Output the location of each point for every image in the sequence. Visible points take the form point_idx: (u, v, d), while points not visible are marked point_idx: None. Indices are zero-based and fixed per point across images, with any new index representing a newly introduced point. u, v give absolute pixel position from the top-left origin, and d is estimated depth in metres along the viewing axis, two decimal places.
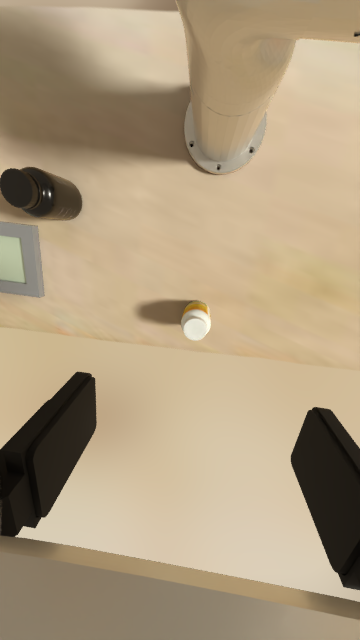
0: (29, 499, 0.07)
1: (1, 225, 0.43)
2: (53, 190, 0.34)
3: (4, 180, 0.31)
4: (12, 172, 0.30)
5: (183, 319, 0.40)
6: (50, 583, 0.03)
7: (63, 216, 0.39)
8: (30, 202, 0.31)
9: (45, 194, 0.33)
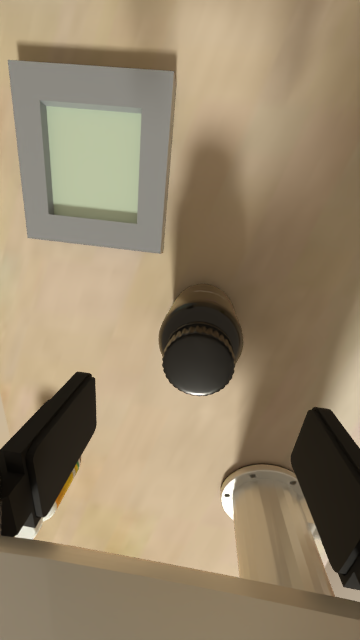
0: (29, 499, 0.07)
1: (158, 183, 0.21)
2: None
3: (213, 347, 0.14)
4: (227, 368, 0.14)
5: None
6: (50, 583, 0.03)
7: None
8: (172, 382, 0.15)
9: None
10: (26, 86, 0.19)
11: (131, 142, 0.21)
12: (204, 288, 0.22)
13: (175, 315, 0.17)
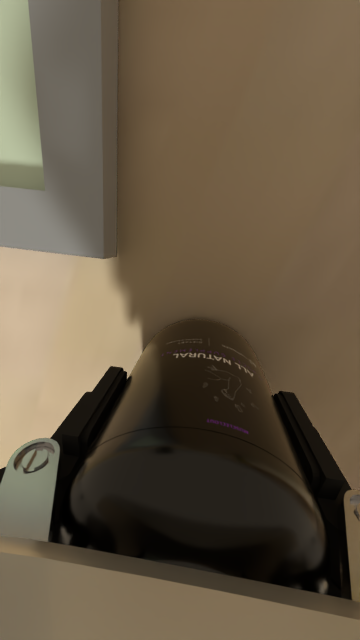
0: None
1: (84, 82, 0.08)
2: None
3: None
4: None
5: None
6: (50, 583, 0.03)
7: None
8: None
9: None
10: None
11: None
12: (201, 340, 0.09)
13: (91, 497, 0.05)
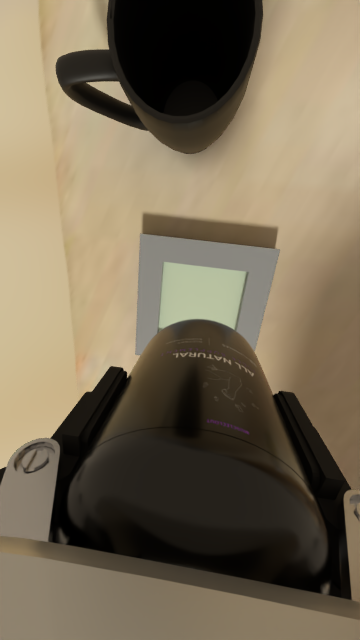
0: None
1: (255, 322, 0.25)
2: None
3: None
4: None
5: None
6: (50, 583, 0.03)
7: None
8: None
9: None
10: (153, 252, 0.23)
11: (233, 289, 0.25)
12: (201, 340, 0.09)
13: (90, 498, 0.05)
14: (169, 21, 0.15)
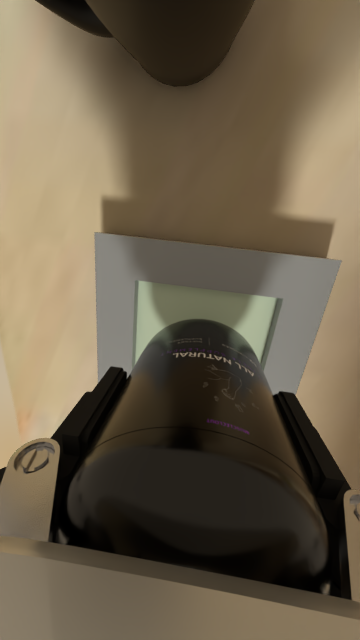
0: None
1: (290, 379, 0.15)
2: None
3: None
4: None
5: None
6: (50, 583, 0.03)
7: None
8: None
9: None
10: (118, 263, 0.14)
11: (254, 324, 0.15)
12: (201, 340, 0.09)
13: (90, 497, 0.05)
14: None
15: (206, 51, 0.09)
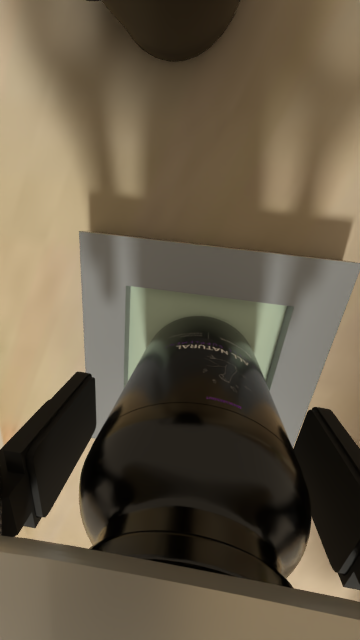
0: (29, 499, 0.07)
1: (300, 396, 0.14)
2: None
3: None
4: None
5: None
6: (50, 583, 0.03)
7: None
8: None
9: None
10: (106, 267, 0.12)
11: (260, 334, 0.13)
12: (201, 334, 0.10)
13: (111, 458, 0.06)
14: None
15: (207, 8, 0.07)
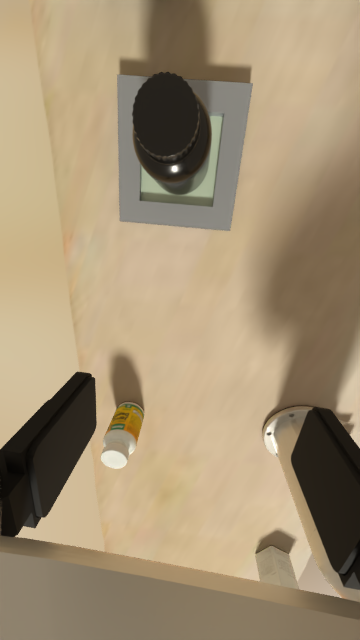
0: (29, 499, 0.07)
1: (233, 173, 0.26)
2: (176, 180, 0.20)
3: (178, 89, 0.15)
4: (191, 114, 0.16)
5: (122, 436, 0.35)
6: (50, 583, 0.03)
7: None
8: (143, 146, 0.17)
9: (166, 166, 0.19)
10: (130, 96, 0.24)
11: None
12: None
13: None
14: None
15: None
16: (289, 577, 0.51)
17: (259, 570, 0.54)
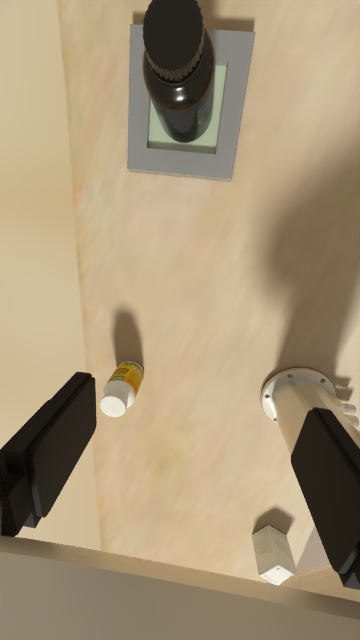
0: (29, 499, 0.07)
1: (235, 120, 0.28)
2: (181, 108, 0.22)
3: (184, 3, 0.17)
4: (196, 28, 0.17)
5: (122, 386, 0.36)
6: (50, 583, 0.03)
7: (156, 112, 0.25)
8: (152, 61, 0.18)
9: (172, 90, 0.20)
10: (142, 44, 0.26)
11: (215, 89, 0.27)
12: None
13: None
14: None
15: None
16: (286, 556, 0.50)
17: (255, 550, 0.53)
